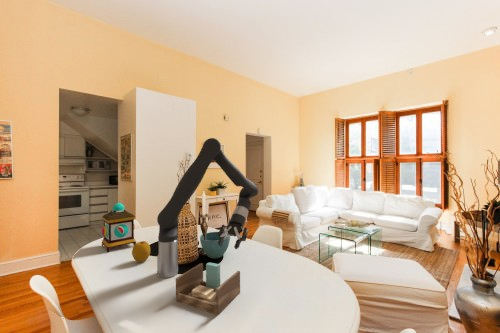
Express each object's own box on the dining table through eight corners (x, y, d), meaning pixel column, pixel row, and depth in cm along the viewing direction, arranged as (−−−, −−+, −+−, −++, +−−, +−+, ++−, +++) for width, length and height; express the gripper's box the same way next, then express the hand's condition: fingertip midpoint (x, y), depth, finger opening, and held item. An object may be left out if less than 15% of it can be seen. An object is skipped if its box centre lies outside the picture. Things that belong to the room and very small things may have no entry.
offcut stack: (190, 302, 91) (190, 290, 91) (199, 295, 96) (199, 284, 96) (209, 308, 87) (208, 296, 87) (217, 300, 92) (217, 289, 92)
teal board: (206, 293, 97) (205, 264, 97) (209, 290, 99) (209, 262, 99) (217, 296, 95) (217, 266, 95) (220, 293, 97) (220, 264, 97)
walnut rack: (175, 305, 92) (175, 278, 92) (201, 286, 106) (201, 263, 106) (218, 319, 83) (218, 289, 83) (240, 296, 97) (240, 271, 97)
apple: (137, 266, 128) (136, 245, 128) (128, 262, 134) (128, 241, 134) (153, 260, 136) (153, 240, 136) (145, 257, 142) (144, 237, 142)
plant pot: (217, 264, 130) (217, 242, 130) (193, 258, 139) (193, 237, 140) (236, 254, 145) (236, 234, 145) (213, 248, 155) (213, 230, 155)
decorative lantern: (130, 240, 176) (129, 200, 176) (138, 246, 161) (138, 202, 161) (99, 246, 162) (98, 203, 162) (105, 253, 148) (104, 206, 148)
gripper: (224, 211, 119) (211, 240, 108) (249, 213, 113) (238, 245, 102) (229, 220, 124) (217, 248, 113) (254, 222, 117) (244, 253, 107)
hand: (227, 247), depth 108 cm, fingers open, 8 cm apart
